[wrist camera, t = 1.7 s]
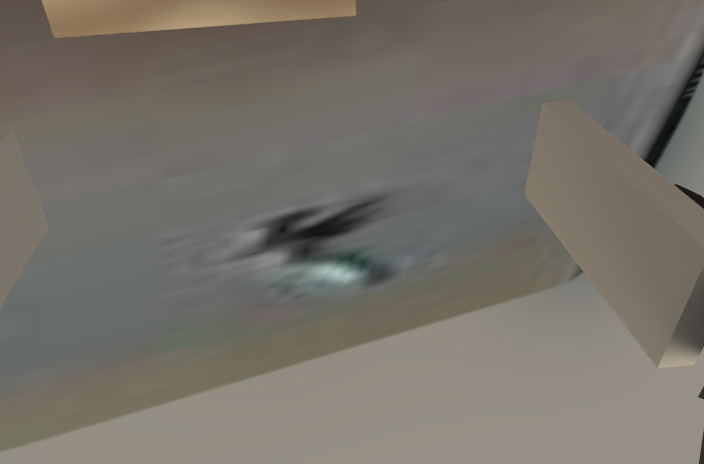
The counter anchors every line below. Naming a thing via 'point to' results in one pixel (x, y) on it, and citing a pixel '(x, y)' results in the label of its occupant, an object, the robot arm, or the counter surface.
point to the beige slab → (180, 14)
